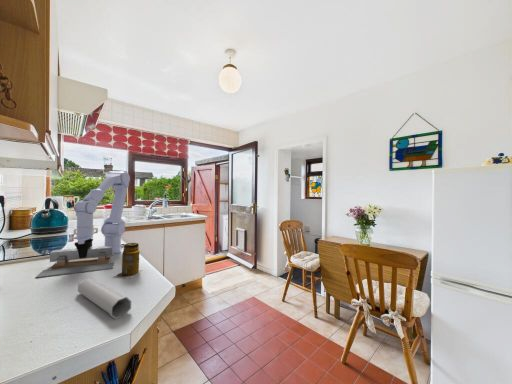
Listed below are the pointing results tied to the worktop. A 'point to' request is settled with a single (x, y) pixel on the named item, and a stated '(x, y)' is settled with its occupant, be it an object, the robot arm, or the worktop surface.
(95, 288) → the tube
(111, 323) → the worktop surface
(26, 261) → the worktop surface
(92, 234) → the character mug
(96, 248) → the rail
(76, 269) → the mat
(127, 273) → the condiment
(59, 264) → the rail stand
